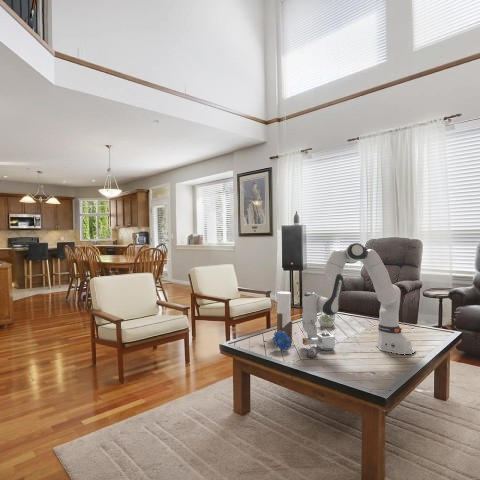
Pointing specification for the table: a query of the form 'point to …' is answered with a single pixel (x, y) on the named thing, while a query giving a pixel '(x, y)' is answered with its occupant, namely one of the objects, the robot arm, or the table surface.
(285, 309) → the cylinder container
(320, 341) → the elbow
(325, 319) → the wavy plaster lump
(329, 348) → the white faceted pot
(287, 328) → the wooden hammer
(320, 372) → the table surface
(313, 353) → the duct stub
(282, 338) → the grapes
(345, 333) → the table surface
